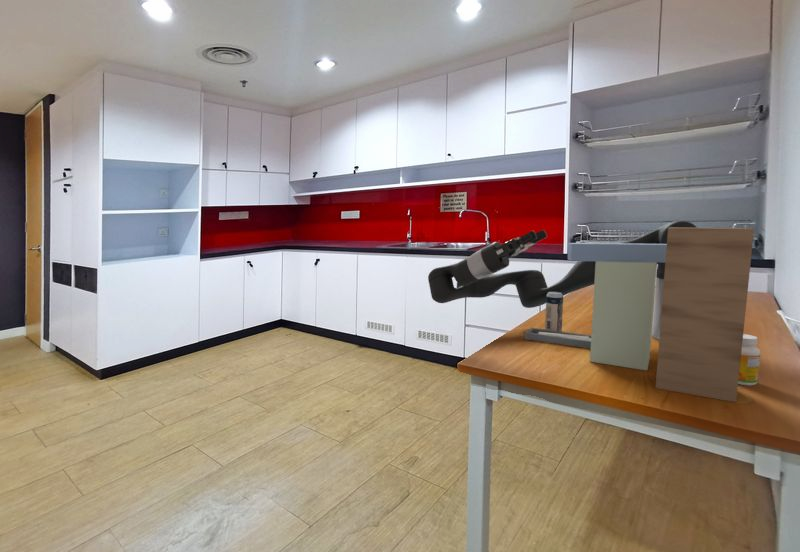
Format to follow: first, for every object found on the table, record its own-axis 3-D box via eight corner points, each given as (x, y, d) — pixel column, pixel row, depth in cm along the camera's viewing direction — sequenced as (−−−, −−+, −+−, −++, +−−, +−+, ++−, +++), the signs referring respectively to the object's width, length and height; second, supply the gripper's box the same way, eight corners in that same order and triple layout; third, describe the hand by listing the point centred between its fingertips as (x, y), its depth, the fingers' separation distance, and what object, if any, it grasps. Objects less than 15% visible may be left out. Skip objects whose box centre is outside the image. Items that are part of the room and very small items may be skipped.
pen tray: (531, 333, 131) (531, 327, 131) (613, 344, 119) (613, 338, 119) (524, 339, 125) (524, 332, 125) (609, 351, 114) (610, 344, 113)
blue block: (567, 259, 107) (568, 242, 106) (675, 261, 103) (676, 243, 102) (570, 260, 103) (571, 243, 103) (683, 262, 99) (684, 244, 99)
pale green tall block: (596, 350, 114) (601, 258, 111) (649, 358, 108) (657, 260, 104) (589, 361, 105) (595, 261, 102) (647, 370, 99) (655, 264, 96)
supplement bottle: (718, 377, 95) (722, 333, 94) (741, 376, 96) (746, 332, 94) (739, 386, 90) (744, 339, 89) (763, 385, 90) (769, 339, 89)
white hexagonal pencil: (599, 348, 119) (538, 341, 126) (599, 343, 121) (538, 336, 127) (600, 341, 118) (537, 334, 124) (600, 336, 120) (538, 329, 126)
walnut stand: (657, 376, 96) (668, 227, 91) (731, 388, 89) (748, 228, 85) (655, 388, 89) (668, 228, 85) (736, 402, 82) (754, 228, 78)
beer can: (562, 334, 130) (564, 294, 128) (545, 333, 131) (547, 294, 129) (560, 330, 135) (562, 291, 133) (543, 329, 136) (545, 291, 134)
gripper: (470, 250, 116) (525, 220, 107) (491, 247, 128) (542, 220, 119) (483, 276, 115) (539, 248, 106) (503, 270, 127) (555, 245, 118)
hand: (540, 233), depth 113 cm, fingers open, 8 cm apart
